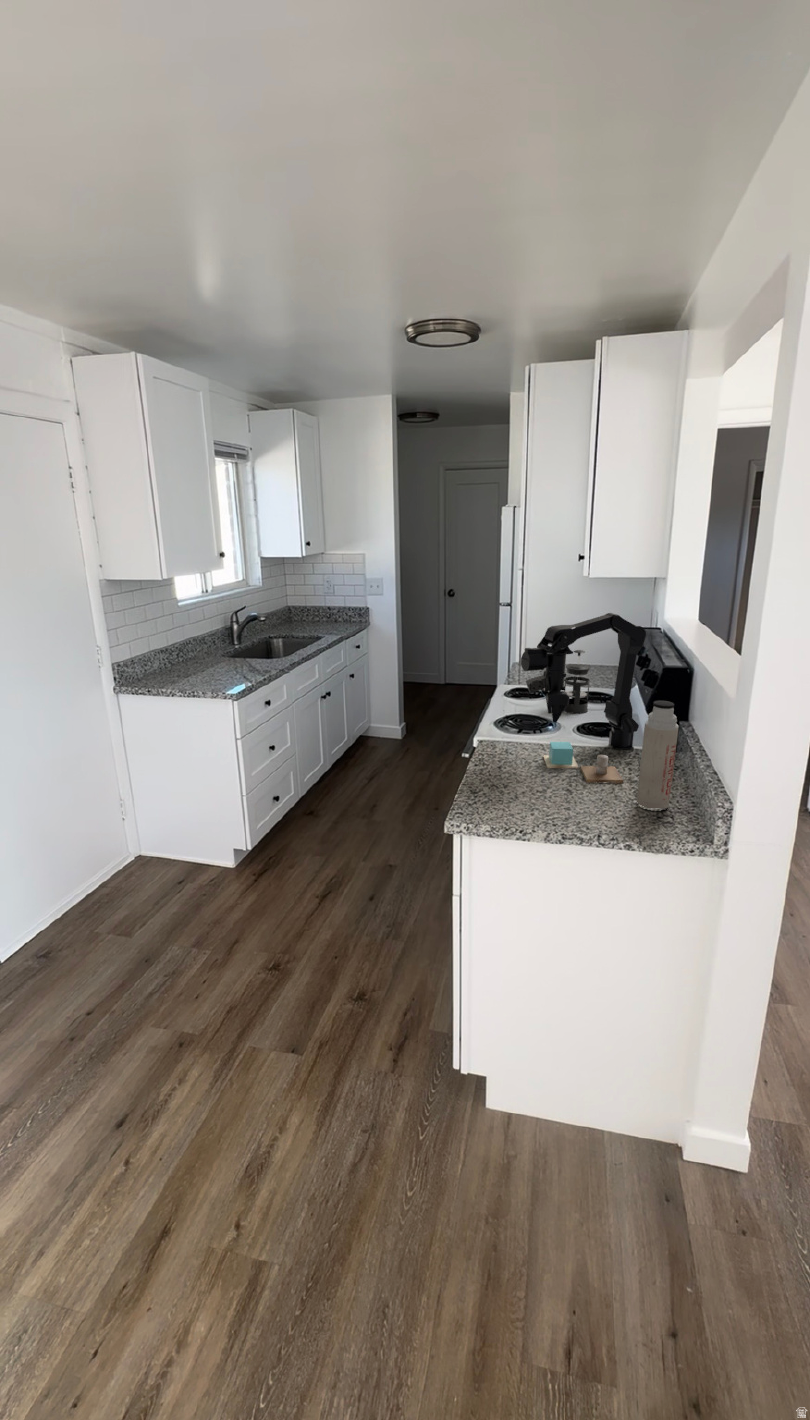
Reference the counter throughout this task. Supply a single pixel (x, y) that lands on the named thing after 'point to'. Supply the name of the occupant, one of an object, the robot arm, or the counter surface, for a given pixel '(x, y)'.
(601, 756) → the post stand
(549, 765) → the board
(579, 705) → the french press
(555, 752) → the teal cube
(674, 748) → the thermos bottle
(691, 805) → the counter surface
